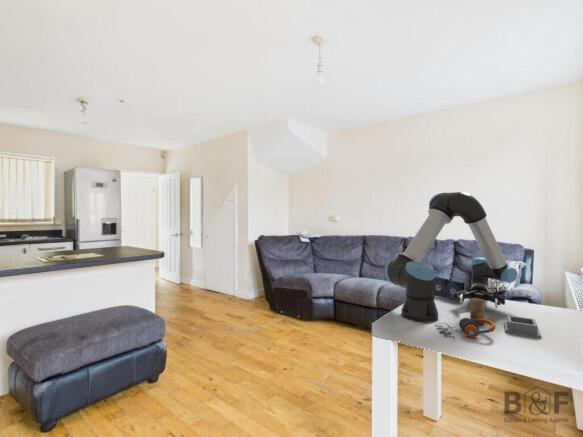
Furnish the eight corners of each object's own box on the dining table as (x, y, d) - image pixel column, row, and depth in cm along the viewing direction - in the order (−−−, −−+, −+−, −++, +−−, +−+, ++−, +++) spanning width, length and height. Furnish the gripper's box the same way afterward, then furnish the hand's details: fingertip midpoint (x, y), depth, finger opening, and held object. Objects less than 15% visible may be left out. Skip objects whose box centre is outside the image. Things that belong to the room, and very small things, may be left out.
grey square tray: (505, 332, 124) (505, 322, 124) (504, 323, 134) (504, 314, 134) (541, 338, 119) (541, 327, 118) (537, 328, 128) (537, 318, 128)
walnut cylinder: (470, 324, 133) (470, 300, 133) (470, 320, 137) (470, 297, 137) (484, 326, 130) (484, 302, 130) (484, 322, 135) (484, 299, 134)
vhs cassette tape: (464, 301, 166) (464, 282, 165) (460, 302, 164) (460, 283, 164) (434, 293, 182) (434, 275, 182) (430, 294, 181) (430, 276, 181)
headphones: (431, 317, 133) (483, 309, 129) (434, 330, 133) (486, 322, 129) (441, 333, 117) (501, 324, 113) (444, 347, 117) (504, 339, 113)
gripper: (509, 303, 154) (512, 316, 136) (451, 296, 167) (446, 307, 149) (509, 287, 154) (512, 298, 136) (451, 281, 167) (446, 290, 148)
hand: (478, 302), depth 142 cm, fingers open, 13 cm apart
